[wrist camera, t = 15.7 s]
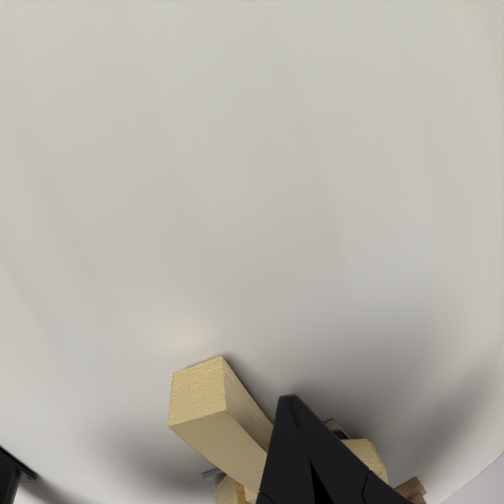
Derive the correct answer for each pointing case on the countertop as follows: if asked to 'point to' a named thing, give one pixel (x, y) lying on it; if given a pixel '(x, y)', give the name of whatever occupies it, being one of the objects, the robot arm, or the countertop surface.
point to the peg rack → (412, 491)
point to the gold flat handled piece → (233, 429)
